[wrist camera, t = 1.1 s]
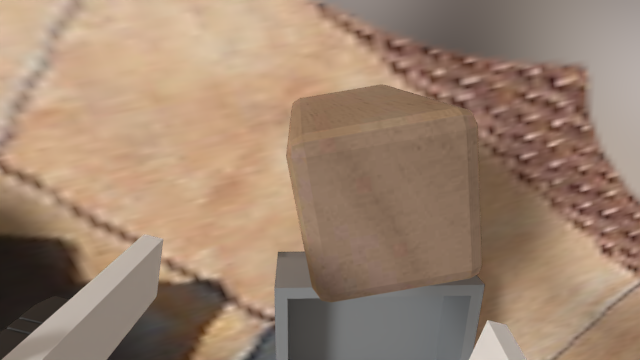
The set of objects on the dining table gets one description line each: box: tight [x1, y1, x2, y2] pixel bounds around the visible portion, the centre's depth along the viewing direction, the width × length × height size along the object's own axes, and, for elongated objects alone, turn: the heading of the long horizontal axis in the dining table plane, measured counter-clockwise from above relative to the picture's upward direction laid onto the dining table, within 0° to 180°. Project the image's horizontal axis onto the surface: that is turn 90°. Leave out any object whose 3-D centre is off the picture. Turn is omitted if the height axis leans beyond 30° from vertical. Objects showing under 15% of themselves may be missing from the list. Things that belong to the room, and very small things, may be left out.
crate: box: [275, 252, 485, 360], centre depth 43 cm, size 20×20×7 cm
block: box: [286, 85, 482, 302], centre depth 29 cm, size 10×10×20 cm
